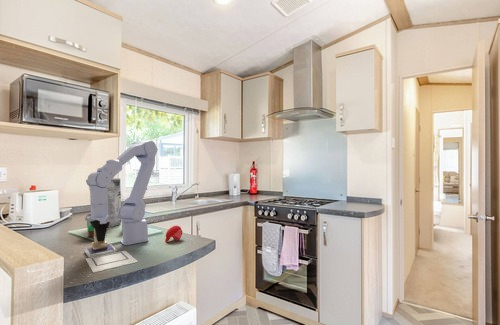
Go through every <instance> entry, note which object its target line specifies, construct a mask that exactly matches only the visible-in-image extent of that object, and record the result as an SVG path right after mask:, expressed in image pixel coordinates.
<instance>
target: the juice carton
mask: <svg viewBox="0 0 500 325" xmlns="http://www.w3.org/2000/svg"><path fill="white" fill-rule="evenodd" d="M121 189H122V188H121V178H115V176H114V177H113V178H112V179H111V183H110V185H108V186H107V192H108V215H109V217H108V218H107V222H110V224H109V226H108V228H113V227H116V226H119V225H122V219H121V218H120V217H119V215H118V211H119V208H120V207H121V206H122V193H121Z"/></svg>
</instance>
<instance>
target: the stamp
mask: <svg viewBox="0 0 500 325" xmlns="http://www.w3.org/2000/svg"><path fill="white" fill-rule="evenodd" d="M107 245H108V242H107V240H106V239H105V240H104V241H100V242H98V240H97V236H96V232H95V229H94V238H93V241H92V242H91V248H92V250H93V251H94V252H95V251H100V250H105V249H108V248H107Z"/></svg>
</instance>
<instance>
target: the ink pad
mask: <svg viewBox="0 0 500 325" xmlns="http://www.w3.org/2000/svg"><path fill="white" fill-rule="evenodd" d="M107 248H108V249H105V250H100V251H95V252H94V251H93V250H92V247H87V248H85V249H84V253H85V255H86V256H87V258H91V257H96V256H101V255H106V254H111V253H116V252H117V248H115V246H114V245H113V244H112V243H111V244H110V243H109V244H107Z"/></svg>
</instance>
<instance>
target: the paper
mask: <svg viewBox="0 0 500 325" xmlns="http://www.w3.org/2000/svg"><path fill="white" fill-rule="evenodd" d="M85 261H86V262H87V264H88V266H89V268H90V270H91V271H92V273H99V272H102V271H107V270H111V269H114V268H116V269H117V268H120V267H124V266H127V265H132V264H137V263H138V260H137V259H136V258H135V257H133V256H132V255H131V254H130V253H129V252H128V251H127V250H121V251H118V252H117V251H116V253H111V254H106V255H101V256H96V257H91V258H88V257H87V258H85Z"/></svg>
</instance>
